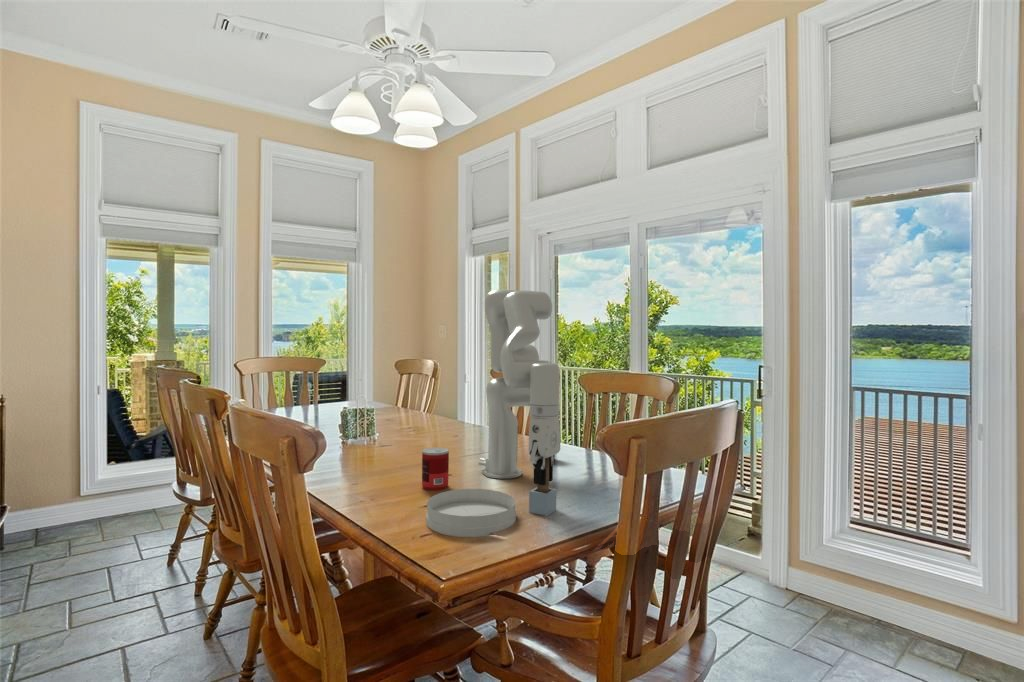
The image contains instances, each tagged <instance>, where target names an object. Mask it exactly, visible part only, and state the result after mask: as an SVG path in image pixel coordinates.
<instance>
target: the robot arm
mask: <svg viewBox="0 0 1024 682" xmlns="http://www.w3.org/2000/svg"><path fill="white" fill-rule="evenodd" d="M484 312H485V316H486V320H487V323H488V326H489V330H490V366H491V369H492V370H493V371H494V372H495V373H500V374H502V377H495V378H492V379H490V380H489V381H488V382H487V383H486V387H485V393H486V401H487V408H488V409H487V410H488V441H487V442H488V444H487V445H488V448H487V449H488V453H487V455H488V456H487V458H483V457H480V458H479V461H478V466H483V467H485V468H484V469H483V471H482V472H483V475H484V476H485V477H488V478H491V479H500V480H502V479H503V480H507V479H515V478H518V477H521V476H522V474H523V473H522V472H523V471H522V469H521V468H519V467H518V444H519V443H518V435H519V434H518V433H519V432H518V431H519V427H518V426H519V422H518V421H519V420H518V418H517V416H516V414H515V413H514V412H513V411H512V410H511V408H513V407H529V418H530V421H529V430H528V454H529V456H530V457H529V462H530V463H531V464H532V467H533V484H535V485H537V484H539V485H545V484H546V469H544V468H545V458H548V457H549V482H552V481H553V478H554V477H553V473H554V470H553V469H554V467H553V466H554V462H555V461H553V458H554V455H555V456H556V455H557V454H558V453H559V452H560V451H561V427H560V425H561V424H560V415H559V414H560V374H561V373H560V367H559V365H558V364H556V363H553V362H551V361H549V360H540V356H539V352H538V349H537V348H536V347H535V346H534V345H533V344H532V343H534V342H536V340H537V339H538V338H539V336H540V331H541V330H540V327H539V324H538V321H537V320H547V319H549V318H550V317H551V315H552V312H553V303H552V299H551V297H550V296H549V295H548V293H546V292H545V291H536V290H522V289H521V290H518V289H517V290H516V289H496V290H491V291H489V292H488V293H487V294H486V295H485V299H484ZM538 454H540V456H537V455H538ZM538 459H541V462H540V460H538Z"/></svg>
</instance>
